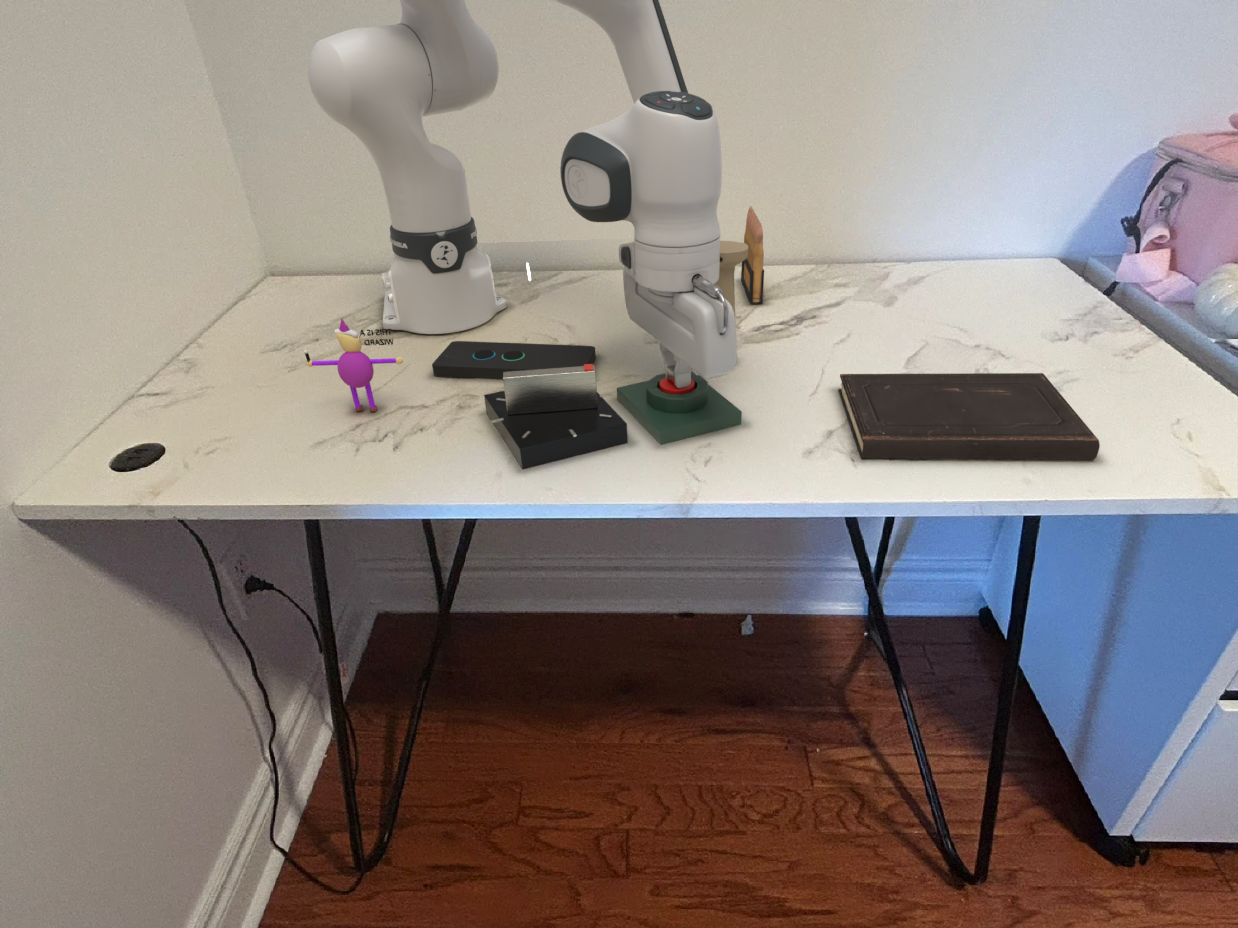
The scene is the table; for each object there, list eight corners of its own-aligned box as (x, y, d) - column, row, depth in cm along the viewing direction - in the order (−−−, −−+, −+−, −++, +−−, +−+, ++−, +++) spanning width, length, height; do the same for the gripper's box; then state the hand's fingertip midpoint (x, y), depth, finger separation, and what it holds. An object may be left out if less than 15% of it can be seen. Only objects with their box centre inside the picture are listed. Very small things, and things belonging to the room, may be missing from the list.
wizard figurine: (414, 405, 100) (396, 311, 93) (408, 418, 97) (389, 321, 90) (323, 407, 100) (298, 314, 94) (314, 420, 97) (288, 324, 91)
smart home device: (452, 339, 112) (596, 344, 109) (454, 350, 113) (596, 356, 110) (429, 364, 105) (582, 371, 102) (431, 377, 106) (583, 383, 103)
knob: (507, 414, 91) (502, 375, 89) (507, 408, 92) (503, 369, 90) (597, 407, 92) (595, 369, 89) (596, 401, 93) (594, 362, 90)
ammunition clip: (762, 304, 123) (767, 223, 117) (750, 304, 123) (754, 224, 117) (752, 280, 133) (756, 204, 126) (740, 280, 133) (743, 205, 126)
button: (653, 393, 95) (653, 379, 94) (684, 386, 97) (684, 372, 96) (669, 408, 92) (669, 393, 91) (700, 400, 93) (701, 385, 92)
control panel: (477, 415, 97) (474, 395, 95) (589, 390, 101) (588, 370, 100) (512, 473, 85) (510, 451, 84) (637, 441, 90) (636, 420, 89)
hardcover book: (838, 391, 98) (840, 373, 97) (1038, 390, 96) (1043, 372, 95) (861, 461, 85) (863, 441, 84) (1095, 462, 83) (1101, 442, 82)
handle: (742, 370, 104) (747, 253, 96) (691, 368, 105) (692, 252, 97) (744, 354, 108) (748, 241, 100) (695, 352, 109) (696, 240, 102)
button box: (617, 400, 99) (615, 373, 97) (691, 383, 102) (691, 356, 100) (660, 445, 89) (660, 417, 87) (741, 424, 92) (742, 396, 90)
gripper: (755, 286, 79) (750, 414, 86) (662, 234, 95) (664, 346, 102) (697, 298, 77) (696, 428, 84) (611, 243, 93) (617, 356, 100)
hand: (677, 382), depth 93 cm, fingers closed, pressing on button
